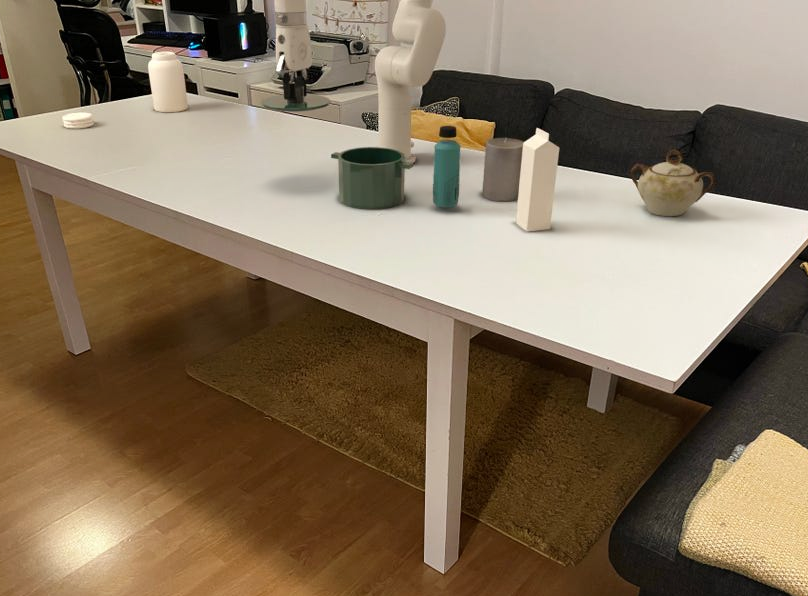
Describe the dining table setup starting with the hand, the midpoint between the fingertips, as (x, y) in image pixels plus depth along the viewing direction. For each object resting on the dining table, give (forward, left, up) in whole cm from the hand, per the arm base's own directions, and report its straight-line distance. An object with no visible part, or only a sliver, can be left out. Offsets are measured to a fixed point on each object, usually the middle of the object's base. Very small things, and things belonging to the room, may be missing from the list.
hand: (295, 97), depth 191 cm
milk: (+3, +66, -23) cm, 70 cm away
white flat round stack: (-22, -104, -23) cm, 109 cm away
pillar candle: (-15, +52, -23) cm, 59 cm away
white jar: (-57, -93, -23) cm, 112 cm away
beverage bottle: (+1, +43, -23) cm, 49 cm away
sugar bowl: (-22, +92, -23) cm, 97 cm away
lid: (0, 0, -2) cm, 2 cm away
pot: (+2, +23, -23) cm, 32 cm away
